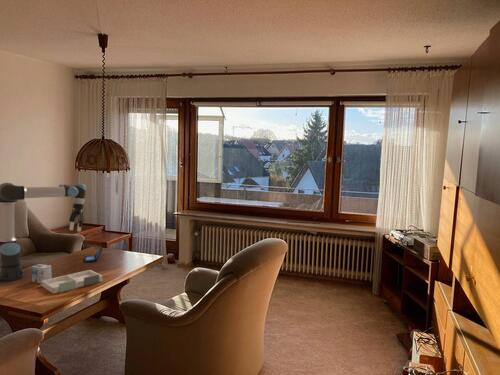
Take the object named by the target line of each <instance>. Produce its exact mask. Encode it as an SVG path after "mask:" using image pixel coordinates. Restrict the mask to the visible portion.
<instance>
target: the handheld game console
mask: <svg viewBox="0 0 500 375" xmlns="http://www.w3.org/2000/svg"><path fill="white" fill-rule="evenodd" d="M102 252H103V246H100V248H99V249H98V251H97V253H96V254H95V255H85V256H84V262H83V263H84V264H86V263H87V264H88V263H97V262H98V259H99V257H100V256H101V254H102Z"/></svg>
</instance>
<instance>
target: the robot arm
mask: <svg viewBox="0 0 500 375" xmlns="http://www.w3.org/2000/svg"><path fill="white" fill-rule="evenodd" d="M86 191H87V185H86V184H82V183H76V184H75V185H72V184H71V185H70V184H62V183H60V184H59V185H58V186H36V187H35V186H34V187H33V186H32V187H31V186H30V187H29V186H28V187H27V186H24V185H14V183H11V182H3V183H1V184H0V280H2V281H1V282H10V281H11V282H12V281H16V280H21V279H22V278H24V277H25V272H24V270H23V267H22V265H21V263H22V262H21V246H20V244H19V243H18V239H17V238H16V237H15V209H16V208H15V205H16V204H17V203H18V201H25V199H39V198H59V197H60V198H62V197H63V198H65V197H66V198H67V197H68V198H69V197H70V198H73V205H72V209H71V214H70V217H69V220H68V221H69V223H70V224H69V231H74V227H75V226H74V225H75V221H76V220H75V219H76V218H77V220H78V221H77V228H76V231H77V232H82V226H83V223H84V222H85V219H84V210H83V209H84V204H85V197H86Z"/></svg>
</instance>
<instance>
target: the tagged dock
mask: <svg viewBox="0 0 500 375" xmlns="http://www.w3.org/2000/svg"><path fill="white" fill-rule="evenodd" d="M101 282H104V275H102V274H100V273H98V272H95V271H94V270H92V269H88V270H87V269H86V270H83V271H78V272H74V273H70V274H65V275H60V276H57V277H52V278H51V279H47V280H43V281H41V283H40V284H41V287H43V288H44V289H46V290H47V291H49V292H50V293H52V294H58V293H64V292H66V291H67V292H68V291H72V290H75V289H77V288H81V287H87V286H91V285H95V284H98V283H101Z"/></svg>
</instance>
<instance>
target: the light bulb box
mask: <svg viewBox="0 0 500 375" xmlns="http://www.w3.org/2000/svg"><path fill="white" fill-rule="evenodd" d="M52 274H53V273H52V265H50V264H41V263H38V264H36V265H33V266H31V282H32V283H37V284H42V283H41V281H43V280H47V279H51V278H53V277H52Z"/></svg>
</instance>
